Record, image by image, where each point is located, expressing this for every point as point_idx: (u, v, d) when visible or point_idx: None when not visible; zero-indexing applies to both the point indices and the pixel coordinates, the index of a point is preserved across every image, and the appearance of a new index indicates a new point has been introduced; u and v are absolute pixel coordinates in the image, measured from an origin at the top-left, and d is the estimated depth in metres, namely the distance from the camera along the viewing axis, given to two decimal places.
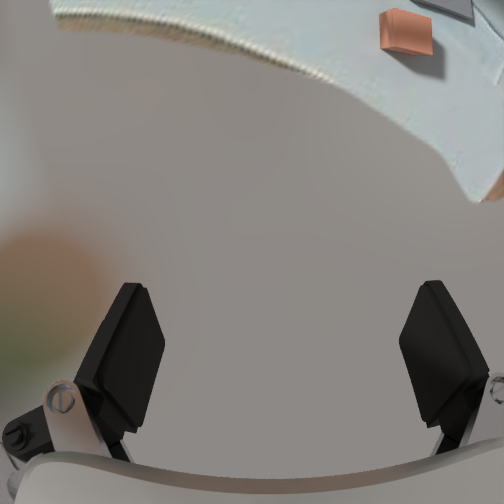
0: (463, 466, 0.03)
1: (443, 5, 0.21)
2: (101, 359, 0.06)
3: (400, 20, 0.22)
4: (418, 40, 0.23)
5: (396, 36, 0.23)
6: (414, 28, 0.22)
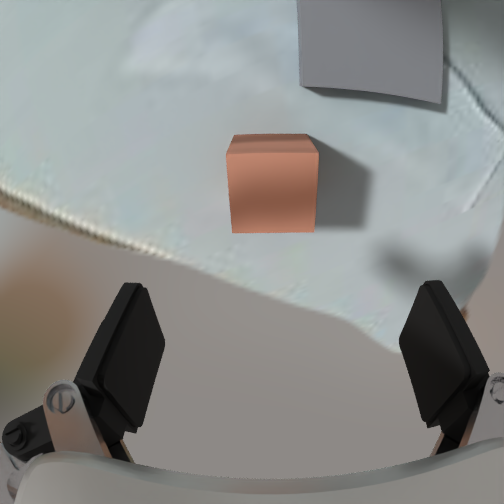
0: (463, 466, 0.03)
1: (375, 87, 0.16)
2: (101, 358, 0.06)
3: (241, 178, 0.16)
4: (283, 211, 0.17)
5: (232, 215, 0.18)
6: (274, 188, 0.16)
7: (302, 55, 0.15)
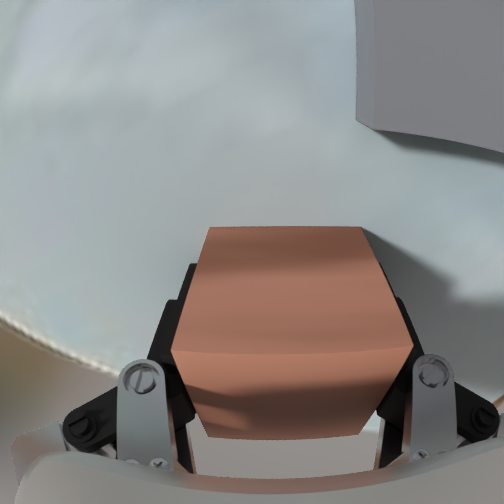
0: (463, 466, 0.03)
1: None
2: None
3: (217, 389, 0.06)
4: (307, 423, 0.07)
5: (206, 423, 0.08)
6: (293, 402, 0.07)
7: (375, 48, 0.05)
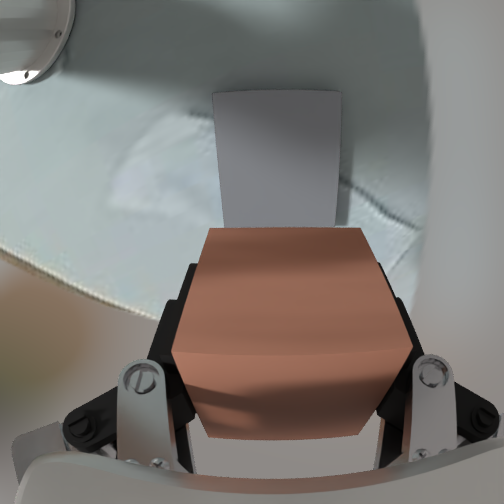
0: (463, 466, 0.03)
1: (277, 223, 0.27)
2: None
3: (217, 390, 0.06)
4: (307, 424, 0.07)
5: (206, 424, 0.08)
6: (293, 402, 0.07)
7: (222, 207, 0.26)
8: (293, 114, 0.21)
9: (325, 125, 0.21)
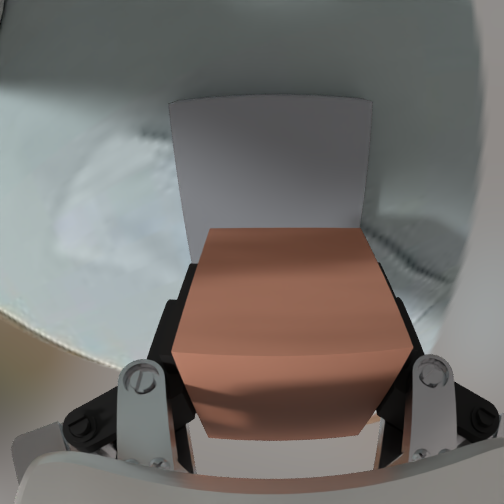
0: (463, 466, 0.03)
1: None
2: None
3: (217, 390, 0.06)
4: (307, 424, 0.07)
5: (206, 424, 0.08)
6: (293, 403, 0.07)
7: None
8: (296, 135, 0.14)
9: (345, 153, 0.14)
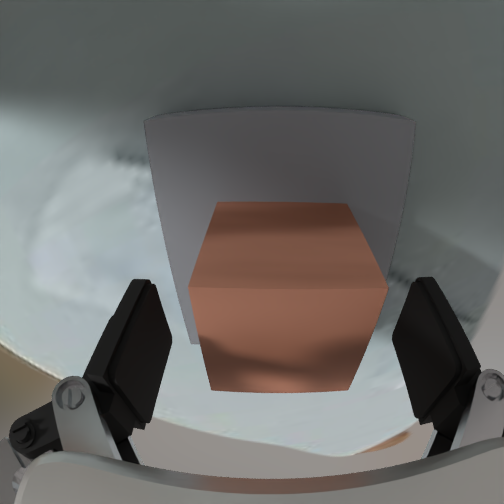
0: (463, 466, 0.03)
1: None
2: (111, 354, 0.06)
3: (223, 328, 0.08)
4: (301, 371, 0.09)
5: (210, 372, 0.09)
6: (288, 343, 0.08)
7: (184, 318, 0.15)
8: (316, 164, 0.10)
9: (378, 188, 0.11)
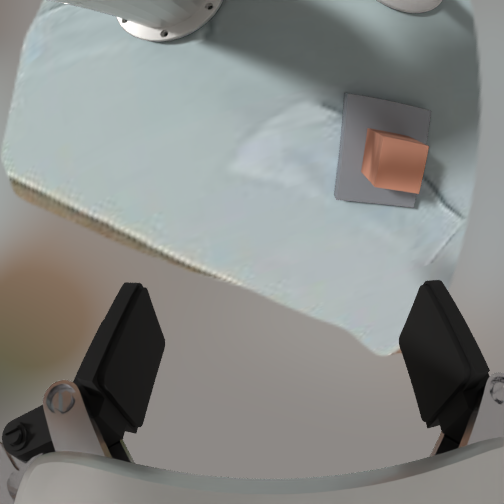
0: (463, 466, 0.03)
1: (375, 200, 0.32)
2: (101, 358, 0.06)
3: (388, 152, 0.24)
4: (405, 177, 0.25)
5: (378, 174, 0.25)
6: (404, 162, 0.24)
7: (339, 182, 0.31)
8: (400, 120, 0.27)
9: (418, 132, 0.27)
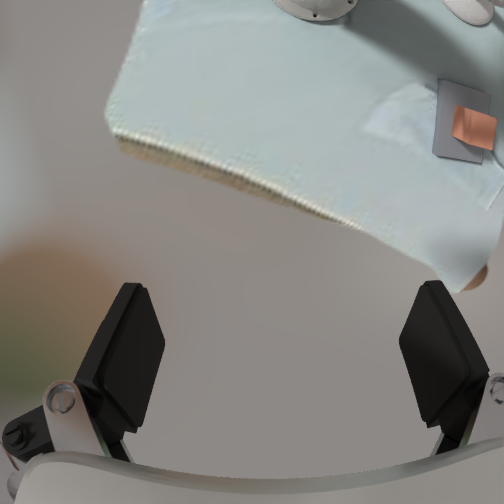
0: (463, 466, 0.03)
1: (459, 157, 0.36)
2: (101, 359, 0.06)
3: (476, 121, 0.28)
4: (485, 138, 0.29)
5: (471, 136, 0.30)
6: (484, 128, 0.28)
7: (438, 142, 0.35)
8: (473, 100, 0.31)
9: (483, 109, 0.31)
